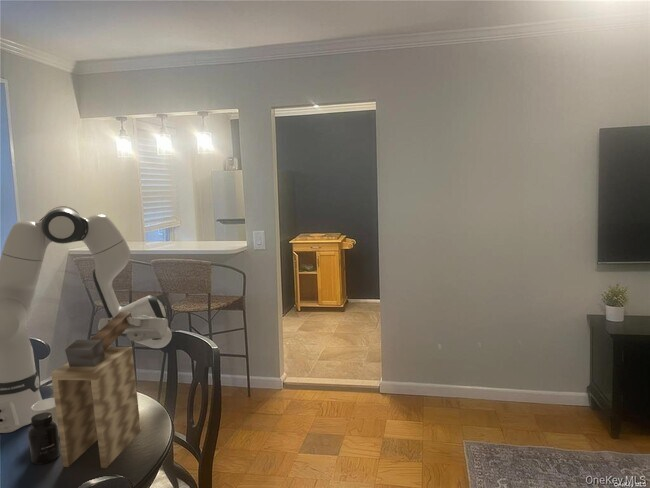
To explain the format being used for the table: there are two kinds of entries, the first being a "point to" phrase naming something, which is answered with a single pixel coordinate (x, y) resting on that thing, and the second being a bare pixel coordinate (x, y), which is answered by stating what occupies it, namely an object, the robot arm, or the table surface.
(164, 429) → the table surface
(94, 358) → the mallet
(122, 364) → the stand
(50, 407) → the white cup
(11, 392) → the robot arm
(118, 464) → the table surface
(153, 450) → the table surface
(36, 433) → the supplement bottle
